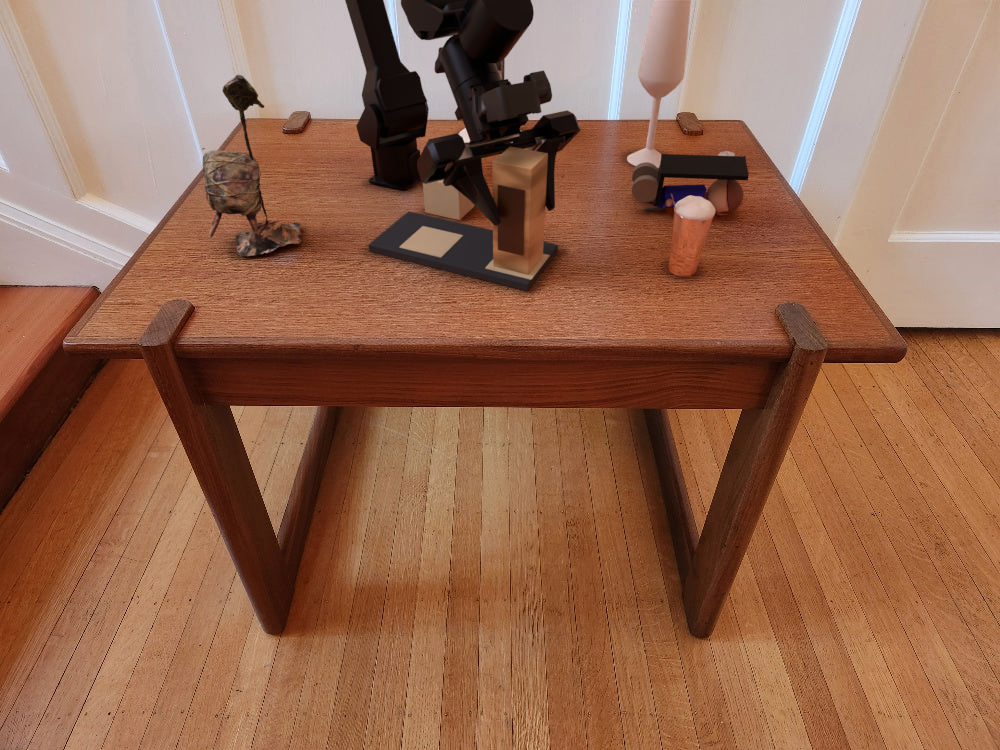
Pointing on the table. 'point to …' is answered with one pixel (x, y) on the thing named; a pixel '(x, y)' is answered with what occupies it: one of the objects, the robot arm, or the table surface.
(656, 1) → the champagne flute
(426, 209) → the cream letter cube
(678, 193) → the toy vehicle
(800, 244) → the table surface
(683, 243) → the milkshake
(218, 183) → the bird sculpture
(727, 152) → the game die
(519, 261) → the maple letter block
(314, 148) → the table surface
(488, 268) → the word mat
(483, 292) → the table surface
